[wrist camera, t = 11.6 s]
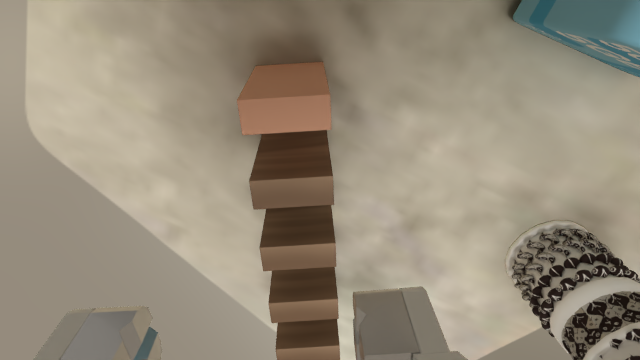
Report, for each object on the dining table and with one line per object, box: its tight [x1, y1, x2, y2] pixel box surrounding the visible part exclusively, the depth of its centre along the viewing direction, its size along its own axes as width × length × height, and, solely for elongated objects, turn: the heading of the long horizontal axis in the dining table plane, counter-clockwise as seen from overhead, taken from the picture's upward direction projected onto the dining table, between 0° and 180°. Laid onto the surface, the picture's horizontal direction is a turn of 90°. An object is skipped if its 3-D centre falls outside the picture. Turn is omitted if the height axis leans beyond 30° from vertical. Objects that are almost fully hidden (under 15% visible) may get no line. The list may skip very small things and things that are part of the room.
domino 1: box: [237, 62, 331, 135], centre depth 25 cm, size 2×5×9 cm, turn 93°
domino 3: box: [260, 205, 336, 271], centre depth 29 cm, size 2×5×9 cm, turn 93°
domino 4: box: [269, 267, 339, 323], centre depth 32 cm, size 2×5×9 cm, turn 93°
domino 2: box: [249, 130, 334, 209], centre depth 27 cm, size 2×5×9 cm, turn 93°
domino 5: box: [276, 319, 340, 360], centre depth 34 cm, size 2×5×9 cm, turn 93°
